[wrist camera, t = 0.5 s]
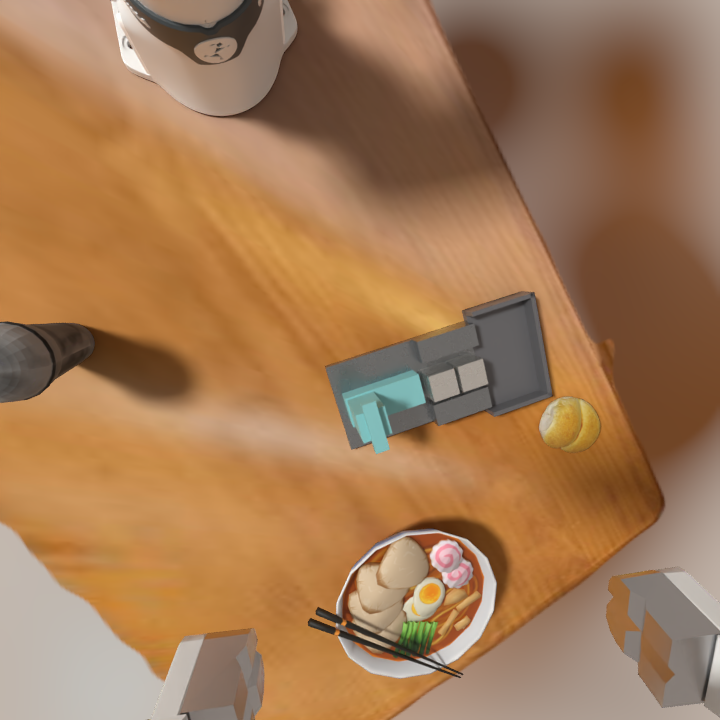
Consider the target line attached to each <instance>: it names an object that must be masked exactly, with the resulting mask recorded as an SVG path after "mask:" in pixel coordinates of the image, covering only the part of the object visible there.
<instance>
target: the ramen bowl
mask: <svg viewBox="0 0 720 720" xmlns="http://www.w3.org/2000/svg"><path fill="white" fill-rule="evenodd" d="M496 588H497V582H496V579H495V576H494V574H493V571H492V568H491V566H490V563H489V560H488V558H487V557H486V556H485V555H484V554H483V553H482V552H481V551H480V550H479V549H477V548H476V547H475V546H474V545H473V544H472V543H471V542H470V541H469V540H468V539H465V538H462V537H460V536H456V535H453V534H449V533H446V532H443V531H439V530H436V529H419V530H408V531H401V532H399V533H397V534H394V535H392V536H390V537H388V538H386V539H384V540H382V541H380V542H378V543H376V544H375V545H374V546H373V547H372V548H371V549H370V550H369V551H368V552H367V553H366V554H365V555H364V556H363V557H362V558H361V559H360V560H359V561H358V562H357V563H356V564H355V565H354V566H353V567H352V569H351V571H350V574H349V576H348V578H347V580H346V583H345V585H344V587H343V589H342V592H341V594H340V596H339V598H338V601H337V603H336V615H334V614H332V613H330V612H328V611H326V610H324V609H321V608H319V607H318V608H317V610H316V615H318V616H320V617H323V618H325V619H328V620H330V621H332V622H335V623H336V628H335V627H332V626H329V625H327V624H324V623H322V622H319V621H317V620H314V619H311V618H310V620H309V621H308V626H310V627H313V628H316V629H319V630H322V631H325V632H327V633H330V634H333V635H337V636H338V638H339V640H340V642H341V644H342V646H343V648H344V649H345V651H346V653H347V655H348V657H349V658H350V659H352V660H353V661H355V662H356V663H357V664H359V665H360V666H361V667H363V668H364V669H366V670H367V671H368V672H370V673H372V674H377V675H383V676H388V677H393V678H399V679H401V678H407V677H413V676H420V675H426V674H431V673H433V672H435V671H437V670H438V671H441V672H444V673H447V674H450V675H453V676H455V677H459V678H461V677H460V676H457V675H455V674H452V673H450V672H447V671H445V670H442V669H440V668H442V667H444V668H446V669H449V670H451V671H454V672H456V673H458V674H461V675H463V674H462V673H460V672H458V671H456V670H454V669H451V668H449V667H447V666H446V665H448V664H450V663H452V662H454V661H456V660H458V659H459V658H460V657H461V656H462V655H463V654H464V653H465V652H466V651H467V650H468V649H469V648H470V647H471V646H472V645H473V644H474V643H475V642H476V641H478V640H479V639H480V638H481V636H482V634H483V632H484V630H485V628H486V626H487V624H488V622H489V620H490V618H491V616H492V614H493V612H494V607H495V597H496Z"/></svg>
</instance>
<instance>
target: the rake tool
mask: <svg viewBox="0 0 720 720" xmlns="http://www.w3.org/2000/svg"><path fill="white" fill-rule="evenodd" d="M342 396H343V399H344V402H345V405H346V409H347V412H348V415H349V418H350V421H351V423H352V426H353V428H354V427H356V429H357V431H358V433H359V435H360V437H361V439H362V441H363V443H367V442H370V441H372V444H373V447H374V450H375V452H376V454H378V453H381V452H384V451H386V450H389V445H388V442H387V438H386V436H387V435H390V434H392V430H391V426H390V423H389V420H388V415H391V414H394V413H397V412H400V411H403V410H406V409H409V408H412V407H414V406H417V405H420V404H423V403H426V401H425V398H424V394H423V390H422V386H421V382H420V378H419V374H417V373H416V372H415V371H413V370H411V371H408V372H405V373H402V374H399V375H396V376H393V377H390V378H387V379H384V380H381V381H378V382H375V383H372V384H369V385H366V386H363V387H360V388H357V389H354V390H351V391H348V392H345V393H342Z"/></svg>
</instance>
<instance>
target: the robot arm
mask: <svg viewBox="0 0 720 720" xmlns="http://www.w3.org/2000/svg"><path fill="white" fill-rule="evenodd" d="M110 1H111V3H112V9H113V14H114V19H115V25H116V30H117V35H118V41H119V46H120V52H121V56H122V60H123V62H124V64H125V66H126V67H127V68H128V69H129V70H130V71H131V72H132V73H134V74H136V75H138V76H140V77H143V78H145V79H148V80H150V81H153V82H155V83H157V84H158V85H160V86H161V87H162V88H163V89H164V90H165V91H167V92H168V93H169V94H170V95H171V96H172V97H173V98H175V99H176V100H177V101H179V102H180V103H182V104H183V105H185V106H187V107H188V108H190V109H193V110H195V111H197V112H200V113H204V114H208V115H215V116H228V115H234V114H238V113H241V112H244V111H246V110H248V109H250V108H252V107H253V106H255V105H256V104H257V103H259V102H260V101H261V100H262V99H263V98H264V97H265V96H266V94H267V93H268V92H269V90H270V89H271V87H272V85H273V83H274V81H275V79H276V76H277V73H278V70H279V66H280V62H281V58H282V56H283V53H284V52H285V50H286V49H287V48H288V47H289V46H290V44H291V43H292V42H293V40H294V39H295V37H296V35H297V30H298V28H297V21H296V18H295V16H294V13H293V11H292V9H291V7H290V5H289V3H288V0H110ZM283 13H284V14H285V15H284V16H283ZM130 45H131V46H132V48H133V49H130V48H129V46H130ZM608 590H609V592H610V593H611V594H612V595H613V598H612V599H611V600H610V602H609V603H608V604H607V611H606V612H607V613H606V618H607V621H608V625H609V628H610V631H611V633H612V635H613V637H614V639H615V641H616V643H617V644H618V646H619V647H620V649H621V650H622V651H623V653H624V654H626V655H627V656H629V657H630V658H632V659H633V660H635V661H637V662H638V675H639V676H640V677H641V679H642V680H643V682H644V683H645V684H646V686H647V687H648V689H649V690H650V692H651V693H652V694H653V695H654V697H655V698H656V700H657V701H658V703H659V704H660V706H661V707H662V708H665V707H673V706H682V705H689V704H698V703H704V706H705V707H707V708H708V709H709V710H711V711H712V712H713V713H714V714H716V715H717V716H718V717H720V602H719V601H717V600H716V599H715V598H714V597H713V596H712V595H711V594H710V593H709V592H708V591H707V590H706V589H705V588H704V587H702V586H701V585H700V584H699V583H698V582H697V581H696V580H695V579H694V578H693V577H692V576H691V575H690V574H689V573H688V572H686V571H685V570H683V569H682V568H680V567H672V568H665V569H658V570H649V571H644V572H637V573H631V574H624V575H618V576H612V578H611V579H610V580H609V585H608ZM257 640H258V639H257V636H256V632H255V629H253V628H250V629H241V630H232V631H223V632H214V633H208V634H199V635H191V636H185V637H184V638H183V640H182V641H181V642H180V644H179V646H178V649H177V651H176V654H175V656H174V659H173V662H172V664H171V667H170V670H169V672H168V675H167V678H166V680H165V683H164V685H163V688H162V691H161V693H160V696H159V699H158V701H157V704H156V707H155V709H154V712H153V714H152V717H151V719H148V720H255V715H256V714H257V712H258V711H259V710H260V708H261V707H262V700H263V693H264V667H263V660H262V656H261V654H259V653H258V652H257V651H256V646H257Z"/></svg>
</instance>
